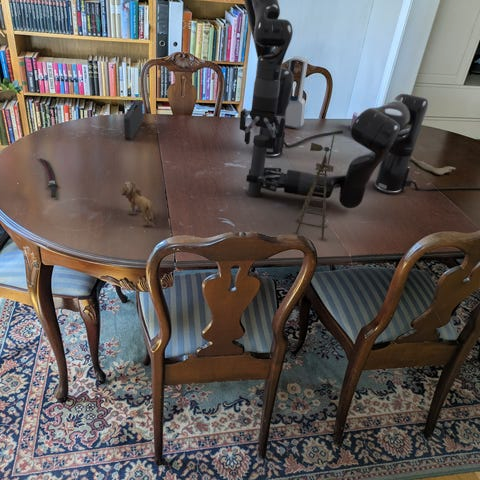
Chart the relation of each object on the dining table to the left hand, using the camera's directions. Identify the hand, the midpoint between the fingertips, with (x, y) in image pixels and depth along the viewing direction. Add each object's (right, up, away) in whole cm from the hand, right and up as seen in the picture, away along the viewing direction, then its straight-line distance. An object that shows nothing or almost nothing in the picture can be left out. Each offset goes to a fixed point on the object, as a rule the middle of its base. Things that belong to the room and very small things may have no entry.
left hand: (259, 145), depth 146 cm
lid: (0, +2, -1) cm, 2 cm away
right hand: (-4, -8, +6) cm, 11 cm away
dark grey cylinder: (-2, -14, +9) cm, 17 cm away
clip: (+51, +19, +70) cm, 89 cm away
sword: (-69, -9, +5) cm, 70 cm away
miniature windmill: (+15, -27, -7) cm, 31 cm away
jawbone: (+71, +1, +45) cm, 84 cm away
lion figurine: (-36, -23, -10) cm, 43 cm away
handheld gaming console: (-50, +16, +47) cm, 70 cm away
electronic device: (+16, +24, +71) cm, 76 cm away
